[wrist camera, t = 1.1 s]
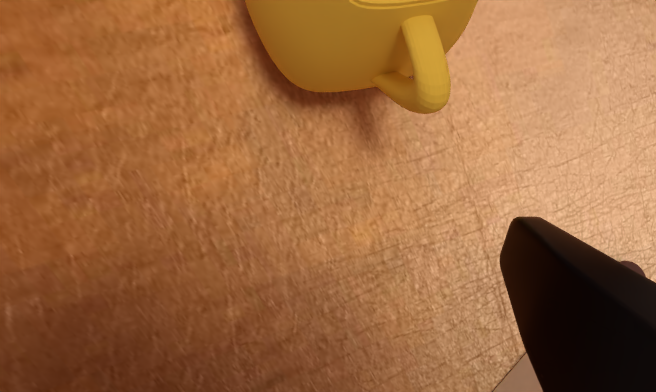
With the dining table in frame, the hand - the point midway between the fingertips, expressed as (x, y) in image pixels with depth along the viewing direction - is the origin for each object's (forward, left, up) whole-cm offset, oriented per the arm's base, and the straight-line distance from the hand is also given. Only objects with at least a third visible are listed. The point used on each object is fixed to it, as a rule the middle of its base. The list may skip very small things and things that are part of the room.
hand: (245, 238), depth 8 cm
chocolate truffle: (+18, -20, -18) cm, 32 cm away
